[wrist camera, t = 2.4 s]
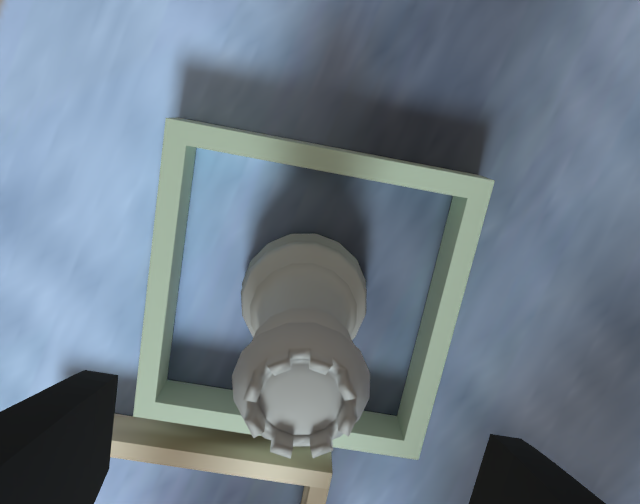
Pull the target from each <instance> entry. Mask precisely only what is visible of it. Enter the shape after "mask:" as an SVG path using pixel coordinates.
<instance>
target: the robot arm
mask: <svg viewBox="0 0 640 504" xmlns="http://www.w3.org/2000/svg"><path fill="white" fill-rule="evenodd" d="M117 383H118V375H113V374H106V373H100V372H93V371H87V370H85V371H82V372H80V373H77V374H75V375H73V376H71V377H69V378H67V379H65V380H63V381H61V382H59V383H57V384H55V385H53V386H51V387H49V388H47V389H45V390H43V391H41V392H39V393H37V394H35V395H33V396H31V397H29V398H27V399H25V400H23V401H21V402H19V403H17V404H15V405H13V406H11V407H9V408H7V409H5V410H3V411H1V412H0V504H94V502H95V500H96V498H97V495H98V493H99V491H100V488H101V486H102V484H103V482H104V479H105V477H106V475H107V472H108V470H109V463H110V453H111V443H112V433H113V423H114V413H115V403H116V393H117ZM469 504H605V503H604V502H603V501H602V500H600V499H599V498H598V497H597V496H595V495H594V494H593V493H592V492H590V491H589V490H588V489H587V488H585V487H584V486H583V485H581V484H580V483H579V482H578V481H576V480H575V479H574V478H573V477H571V476H570V475H569V474H568V473H566V472H565V471H564V470H563V469H561V468H560V467H559V466H558V465H556V464H555V463H554V462H552V461H551V460H550V459H548V458H547V457H546V456H545V455H543V454H542V453H541V452H539V451H538V450H536V449H535V448H534V447H532V446H531V445H529V444H528V443H526V442H525V441H523V440H522V439H519V438H512V437H506V436H500V435H493V434H490V437H489V440H488V443H487V447H486V450H485V453H484V456H483V460H482V463H481V466H480V469H479V473H478V476H477V479H476V482H475V485H474V489H473V492H472V495H471V498H470V502H469Z"/></svg>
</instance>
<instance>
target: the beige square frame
mask: <svg viewBox="0 0 640 504" xmlns="http://www.w3.org/2000/svg"><path fill="white" fill-rule="evenodd" d="M270 447H271V440H268V439H265V438H264V437H263V436H257V437H255V438H253V436H252V435H251V434H244V433H238V432H231V431H225V430H218V429H212V428H205V427H199V426H192V425H186V424H179V423H172V422H166V421H159V420H153V419H146V418H140V417H133V416H128V415H121V414H114V423H113V433H112V443H111V453H110V457H113V458H119V459H126V460H133V461H140V462H147V463H153V464H160V465H167V466H174V467H181V468H187V469H194V470H201V471H208V472H215V473H221V474H228V475H235V476H242V477H248V478H255V479H262V480H269V481H276V482H282V483H289V484H296V485H303V486H304V491H303V495H302V500H301V504H326V499H327V495H328V491H329V486H330V482H331V477H332V459H331V452H328V453H326V454H323V455H320V456H318V457H315V458H313V457H312V453H311V449H310V446H295V447H293V450H292V455H291V459H290V458H287V457H284V456H281V455H278V454H275V453H272V452H270Z"/></svg>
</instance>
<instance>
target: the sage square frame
mask: <svg viewBox="0 0 640 504" xmlns="http://www.w3.org/2000/svg"><path fill="white" fill-rule="evenodd" d="M196 147H197V148H202V149H208V150H213V151H218V152H224V153H229V154H234V155H240V156H245V157H250V158H256V159H261V160H266V161H272V162H277V163H282V164H288V165H293V166H298V167H303V168H309V169H314V170H319V171H325V172H330V173H335V174H341V175H346V176H351V177H357V178H362V179H367V180H373V181H378V182H383V183H389V184H394V185H399V186H405V187H410V188H415V189H421V190H426V191H431V192H437V193H442V194H447V195H452V196H453V198H452V202H451V206H450V210H449V214H448V218H447V222H446V226H445V230H444V234H443V237H442V241H441V245H440V249H439V253H438V257H437V261H436V265H435V269H434V273H433V277H432V281H431V285H430V288H429V292H428V296H427V300H426V304H425V308H424V312H423V316H422V320H421V324H420V328H419V332H418V336H417V339H416V343H415V347H414V351H413V355H412V359H411V363H410V367H409V371H408V375H407V379H406V383H405V387H404V390H403V394H402V398H401V402H400V406H399V410H398V414H397V416H394V415H388V414H381V413H375V412H369V411H363V413H362V415H361V417H360V419H359V420H358V421H357V422H356V423H355V425H354V427H353V429H352V431H351V433H350V435H349V437H348V436H347V435H345V434H343V435H342V436H340V437H338V438H336V439H333V440H332V442H333V447H336V448H343V449H349V450H356V451H362V452H369V453H375V454H382V455H388V456H395V457H402V458H408V459H415V460H419V456H420V452H421V449H422V445H423V441H424V438H425V434H426V430H427V427H428V423H429V419H430V416H431V412H432V408H433V405H434V401H435V397H436V394H437V390H438V386H439V383H440V379H441V375H442V372H443V368H444V365H445V361H446V357H447V354H448V350H449V346H450V343H451V339H452V335H453V332H454V328H455V324H456V321H457V317H458V313H459V310H460V306H461V302H462V299H463V295H464V291H465V288H466V284H467V280H468V277H469V273H470V269H471V266H472V262H473V258H474V255H475V251H476V247H477V244H478V240H479V236H480V233H481V229H482V225H483V222H484V218H485V214H486V211H487V207H488V203H489V200H490V196H491V192H492V189H493V185H494V180H491V179H488V178H486V177H483V176H480V175H476V174H471V173H466V172H460V171H455V170H450V169H445V168H439V167H434V166H429V165H424V164H419V163H413V162H408V161H403V160H398V159H392V158H387V157H382V156H377V155H371V154H366V153H361V152H356V151H351V150H345V149H340V148H335V147H330V146H324V145H319V144H314V143H309V142H303V141H298V140H293V139H288V138H283V137H277V136H272V135H267V134H262V133H256V132H251V131H246V130H241V129H235V128H230V127H225V126H220V125H215V124H209V123H204V122H199V121H194V120H188V119H183V118H166V121H165V130H164V139H163V148H162V157H161V167H160V176H159V185H158V194H157V203H156V212H155V221H154V230H153V239H152V249H151V258H150V267H149V276H148V285H147V294H146V303H145V312H144V321H143V330H142V340H141V349H140V358H139V367H138V376H137V385H136V394H135V403H134V412H133V417H140V418H146V419H153V420H159V421H166V422H172V423H179V424H186V425H192V426H199V427H205V428H212V429H218V430H225V431H231V432H238V433H244V434H251V433H250V431H249V429H248V427H247V425H246V423H245V421H244V419H243V417H242V415H241V414H240V412H239V410H238V408H237V406H236V404H235V402H234V400H233V390H229V389H223V388H217V387H210V386H204V385H198V384H191V383H185V382H179V381H172V380H167V377H168V369H169V361H170V353H171V345H172V337H173V329H174V321H175V313H176V305H177V297H178V289H179V281H180V273H181V265H182V257H183V250H184V242H185V234H186V226H187V218H188V210H189V202H190V194H191V186H192V178H193V170H194V162H195V154H196ZM258 436H261V435H258Z"/></svg>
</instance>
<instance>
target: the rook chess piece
mask: <svg viewBox="0 0 640 504" xmlns="http://www.w3.org/2000/svg"><path fill="white" fill-rule="evenodd" d="M366 291H367V290H366V280H365V278H364V276H363V273H362V271H361V268H360V266H359V264H358V261H357V259H356V258H355V257H354V256H353V255H352V254H350V253H349V252H348V251H347V250H346V249H345V248H344V247H343V246H342V245H341V244H340V243H339V242H336V241H334V240H331V239H329V238H326V237H323V236H321V235H318V234H289V235H287V236H284V237H282V238H280V239H277V240H275V241H272V242H270V243H268V244H267V245H266V246H265V247H264V248H263V249H262V250H261V251H260V252H259V253H258V254H257V255H256V256H255V257H254V258H253V259H252V260H251V261H250V264H249V266H248V269H247V272H246V274H245V277H244V279H243V282H242V290H241V303H242V316H243V318H244V320H245V322H246V324H247V326H248V328H249V330H250V332H251V334H252V336H253V340H252V342H251V343H250V344H249V345H248V346H247V347H246V348H245V349H244V350H243V351H242V352H241V354H240V357H239V359H238V362H237V364H236V367H235V369H234V372H233V374H232V385H233V400H234V402H235V404H236V406H237V408H238V410H239V412H240V414H241V415H242V417H243V419H244V421H245V423H246V425H247V427H248V429H249V431H250V433H251V435H252V436H253V438H255V437H257V436H258V435H261V436H263V437H264V438H265V439H268V440H271V447H270V452H272V453H275V454H278V455H281V456H284V457H287V458H290V459H291V455H292V450H293V447H295V446H310V449H311V453H312V457H313V458H315V457H318V456H320V455H323V454H326V453H328V452H331V451H333V442H332V440H333V439H336V438H338V437H340V436H342V435H343V434H345V435H347V436H348V437H349V435H350V433H351V431H352V429H353V427H354V425H355V423H356V422H357V421H358V420H359V419H360V417H361V415H362V413H363V411H364V408H365V406H366V404H367V402H368V400H369V398H370V372H369V370H368V367H367V365H366V363H365V361H364V358H363V356H362V354H361V351H360V350H359V349H358V348H357V347H356V346H355V345H354V343H353V341H352V340H353V339H354V338H355V336H356V334H357V332H358V330H359V328H360V325H361V323H362V321H363V319H364V317H365V314H366Z"/></svg>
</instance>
